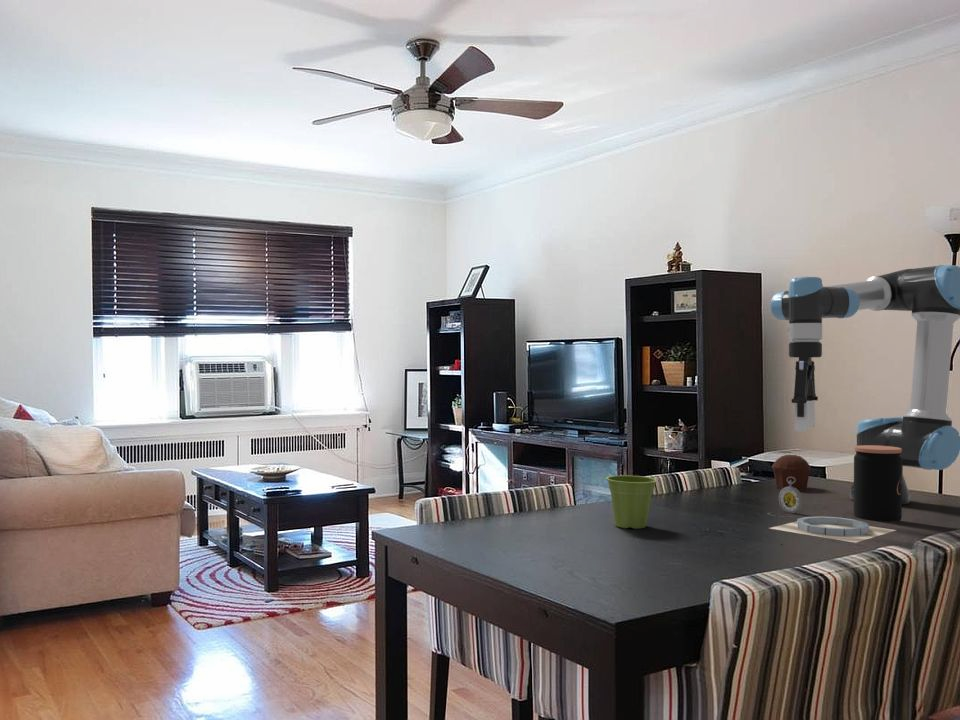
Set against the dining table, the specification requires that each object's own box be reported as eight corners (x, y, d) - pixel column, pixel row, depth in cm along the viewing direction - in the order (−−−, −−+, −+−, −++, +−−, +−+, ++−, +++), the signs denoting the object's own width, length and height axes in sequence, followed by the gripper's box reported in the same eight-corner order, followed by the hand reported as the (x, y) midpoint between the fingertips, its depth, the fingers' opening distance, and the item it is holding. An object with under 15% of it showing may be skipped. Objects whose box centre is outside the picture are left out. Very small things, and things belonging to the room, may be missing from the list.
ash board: (812, 521, 209) (812, 517, 209) (896, 534, 194) (896, 530, 194) (768, 532, 196) (768, 528, 196) (855, 547, 181) (855, 542, 181)
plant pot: (645, 533, 194) (646, 483, 194) (597, 527, 201) (597, 479, 201) (664, 525, 204) (664, 477, 204) (617, 519, 211) (617, 473, 211)
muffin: (805, 492, 255) (805, 458, 255) (767, 489, 262) (767, 456, 261) (814, 487, 265) (814, 454, 265) (777, 484, 271) (777, 452, 271)
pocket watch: (766, 519, 212) (767, 478, 212) (769, 513, 220) (769, 474, 220) (802, 522, 209) (802, 480, 209) (803, 516, 217) (803, 476, 217)
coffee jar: (907, 526, 204) (907, 450, 204) (859, 524, 206) (859, 449, 206) (894, 518, 214) (895, 445, 214) (849, 516, 217) (849, 444, 216)
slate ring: (817, 520, 205) (817, 514, 205) (879, 529, 194) (879, 523, 194) (785, 528, 196) (785, 521, 196) (849, 538, 185) (849, 531, 185)
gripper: (796, 342, 221) (795, 424, 221) (780, 340, 199) (780, 432, 199) (827, 341, 218) (827, 425, 218) (815, 340, 196) (815, 433, 196)
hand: (804, 429), depth 209 cm, fingers open, 13 cm apart
